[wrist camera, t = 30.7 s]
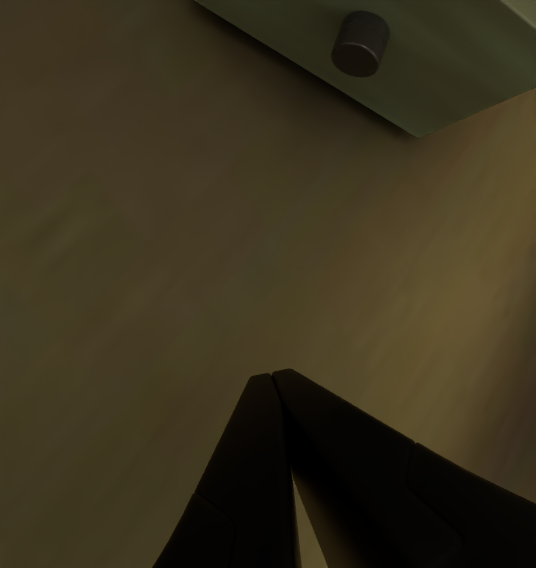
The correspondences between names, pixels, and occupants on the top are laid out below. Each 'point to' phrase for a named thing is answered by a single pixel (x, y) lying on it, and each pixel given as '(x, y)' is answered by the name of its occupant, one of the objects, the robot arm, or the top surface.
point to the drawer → (402, 51)
